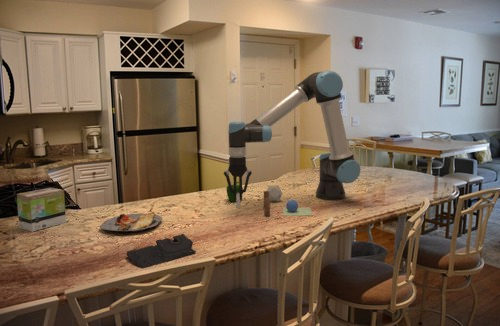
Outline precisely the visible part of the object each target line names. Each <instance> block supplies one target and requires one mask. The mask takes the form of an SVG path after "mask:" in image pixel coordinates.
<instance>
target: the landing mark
mask: <svg viewBox="0 0 500 326" xmlns="http://www.w3.org/2000/svg"><path fill="white" fill-rule="evenodd" d="M281 210H282V212H283V216H284V217H292V216H293V217H299V216H300V217H309V216H310V217H311V216H314V214H313V212H312V208H311V207H308V206H307V207H306V206H305V207H304V206H303V207H302V206H301V207H299V206H298V209H297V210H296V211H295V212H290V211H288V210H287V208H286V207H282V209H281Z"/></svg>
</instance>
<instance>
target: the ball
mask: <svg viewBox="0 0 500 326" xmlns="http://www.w3.org/2000/svg"><path fill="white" fill-rule="evenodd" d="M298 207H299V203H298V202H297V201H296V200H294V199H289V200H288V201H287V202H286V204H285V208H287V210H288V211H290V212H295V211H296V210H297V209H298Z"/></svg>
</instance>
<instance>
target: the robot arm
mask: <svg viewBox="0 0 500 326" xmlns="http://www.w3.org/2000/svg"><path fill="white" fill-rule="evenodd" d="M343 83H344V82H343V79H342V77H341V75H339V74H338V73H337V72H335V71H332V70H323V71H319V72H318V71H317V72H313V73H311V74H310V75H308V76H307V77H305V78H304V79H303V80H301V81H300V82H299V83H298V84H296V86H295V85H294V89H293V90H292V91H291V92H289V93H288V94H287V95H285V96H284V97H283V98H282V99H280V100H279V101H277V102H276V103H275V104H273V105H272V106H270V107H269V108H268V109H267V110H265V111H264V112H262V113H261V114H259V116H257V117H256V118H255V119H253V120H252V121H250V122H248V123H245V121H231V122H229V123H228V132H227V133H228V156H229V157H228V162H229V163H228V165H229V166H228V167H227V168H228V169H226V170H224V171H223V175H224V176H225V177H224V178H225V179H226V182H227V186H228V187H229V190H230V192H231V193H233V194H234V201H235V202H236V209H240V208H241V201H243V194H244V193H246V192H247V189H248V184H249V181H250V178H251V175H252V171H251V170H249V169H248V167H247V159H246V158H247V157H246V155H247V154H246V153H247V151H246V146H247V145H246V144H249V143H267V142H271V141H272V138H273V131H272V126H273V125H275V124H276V123H277V122H279V121H280V120H282V119H283V118H285V117H286V116H287V115H288V114H289V113H291V112H292V111H293V110H295V109H297V108H298V107H299V106H301V104H303V103H308V102H309V101H311V100H313V99H315V103H316V104H317V105H319V106H320V109H321V114H322V118H323V122H324V127H325V131H326V132H325V133H326V136H327V141H328V145H329V150H330V152H329V153H325V152H324V153H322V154H320V155H319V183H318V186H317V188H316V191H315V197H316V198H318V199H322V200H328V201H330V200H331V201H333V200H334V201H335V200H342V199H345V198H346V191H345V187H344V184H352V183H354V182H356V180H357V179H358V177H359V176H361V175H360V174H361V166H360V164H359V162H358V161H356V160H355V156H354V152H353V151H351V150H350V148H349V143H348V139H347V134H346V130H345V126H344V121H343V115H342V110H341V105H340V100H341V98H342V93H341V92H342V90H343V87H344V84H343ZM245 174H246V178H245V182H244V186H243V176H244V175H245ZM230 175H232V178H233V184H232V181H231V179H230ZM237 177H238V178H239V179H238V181H237ZM237 182H239V183H237ZM232 185H234V190H233V189H232ZM237 185H239V193H237ZM242 188H243V190H242ZM242 193H243V194H242Z"/></svg>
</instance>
